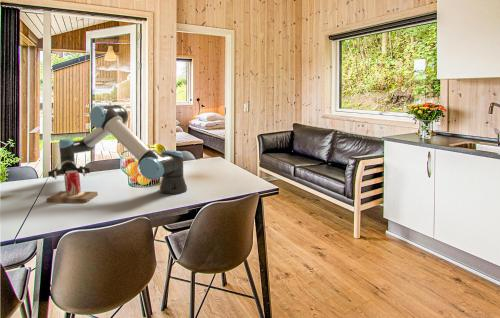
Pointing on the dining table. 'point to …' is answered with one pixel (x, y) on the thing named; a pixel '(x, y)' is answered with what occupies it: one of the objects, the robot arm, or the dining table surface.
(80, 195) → the drinks board
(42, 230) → the dining table surface
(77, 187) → the soda can
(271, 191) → the dining table surface
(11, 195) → the dining table surface
